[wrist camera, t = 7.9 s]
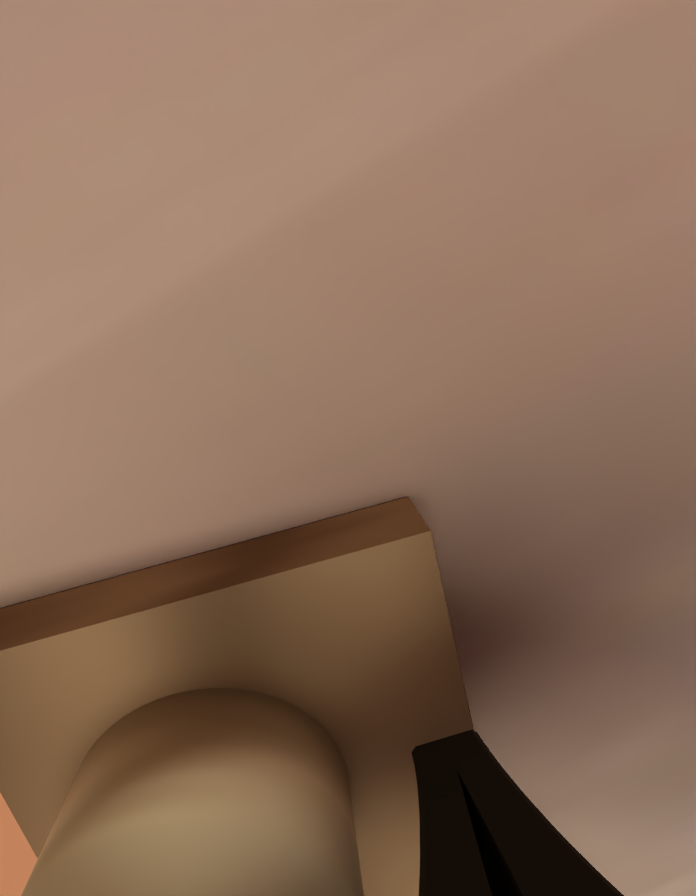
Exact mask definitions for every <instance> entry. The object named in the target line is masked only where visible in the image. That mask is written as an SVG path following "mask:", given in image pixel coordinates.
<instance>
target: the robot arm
mask: <svg viewBox="0 0 696 896" xmlns="http://www.w3.org/2000/svg"><path fill="white" fill-rule="evenodd" d="M411 753H412V757H413V761H414V766H415V772H416V779H417V788H418V801H419V819H420V875H419V896H624V895H623V894H621V893H620V892H619V891H618V890H617V889H616V888H615V887H614V886H613V885H612V884H611V883H610V882H609V881H607V880H606V879H605V878H604V877H603V876H602V875H601V874H600V873H599V872H598V871H597V870H596V869H595V868H594V867H593V866H592V865H591V864H590V863H589V862H588V861H587V860H586V859H585V858H584V857H583V856H582V855H581V854H580V853H579V852H578V851H577V850H576V849H575V848H574V847H573V846H572V845H571V844H570V843H569V842H568V841H567V840H566V839H565V838H564V837H563V836H562V835H561V834H560V833H559V832H558V831H557V830H556V828H555V827H554V826H553V825H552V824H551V823H550V822H549V821H548V820H547V819H546V818H545V816H544V815H543V814H542V813H541V812H540V811H539V810H538V809H537V808H536V807H535V805H534V804H533V803H532V802H531V801H530V800H529V799H528V798H527V796H526V795H525V794H524V793H523V792H522V791H521V790H520V788H519V787H518V786H517V785H516V784H515V782H514V781H513V780H512V779H511V777H510V776H509V775H508V774H507V773H506V771H505V770H504V769H503V768H502V766H501V765H500V764H499V763H498V761H497V760H496V759H495V757H494V756H493V755H492V753H491V752H490V751H489V749H488V748H487V746H486V745H485V743H484V742H483V741H482V739H481V738H480V736H479V734H478V733H477V732H475V731H473V730H468V731H465V732H462V733H458V734H455V735H452V736H448V737H445V738H442V739H438V740H435V741H432V742H429V743H425V744H422V745H419V746H415V748H414V749H413V751H412V752H411Z"/></svg>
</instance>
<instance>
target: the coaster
mask: <svg viewBox="0 0 696 896" xmlns="http://www.w3.org/2000/svg"><path fill="white" fill-rule="evenodd" d="M21 896H364V891H363V884H362V876H361V868H360V861H359V853H358V846H357V838H356V831H355V823H354V816H353V808H352V801H351V793H350V786H349V779H348V773H347V768H346V765H345V762H344V759H343V756H342V754H341V752H340V750H339V748H338V746H337V745H336V743H335V741H334V740H333V739H332V737H331V736H330V735H329V733H328V732H327V731H326V730H325V729H324V728H323V727H322V726H321V725H320V724H319V723H318V722H317V721H316V720H315V719H314V718H312V717H311V716H309V715H308V714H307V713H305V712H304V711H302V710H301V709H299V708H297V707H295V706H294V705H292V704H290V703H288V702H286V701H283V700H281V699H278V698H276V697H273V696H270V695H267V694H263V693H259V692H255V691H250V690H242V689H234V688H208V689H197V690H190V691H185V692H181V693H176V694H172V695H169V696H166V697H163V698H160V699H157V700H154V701H152V702H150V703H148V704H145V705H143V706H141V707H139V708H137V709H136V710H134V711H132V712H130V713H129V714H127V715H125V716H124V717H122V718H121V719H120V720H119V721H117V722H116V723H115V724H113V725H112V726H111V727H110V728H108V729H107V730H106V731H105V732H104V734H103V735H102V736H101V737H100V738H99V739H98V740H97V741H96V742H95V743H94V745H93V746H92V747H91V749H90V750H89V752H88V753H87V754H86V756H85V758H84V760H83V762H82V764H81V766H80V768H79V770H78V772H77V774H76V776H75V778H74V781H73V783H72V785H71V787H70V789H69V792H68V794H67V796H66V798H65V800H64V803H63V805H62V807H61V809H60V811H59V814H58V816H57V818H56V820H55V822H54V825H53V827H52V829H51V831H50V833H49V836H48V838H47V840H46V842H45V844H44V847H43V849H42V851H41V853H40V855H39V857H38V860H37V862H36V864H35V866H34V868H33V871H32V873H31V875H30V877H29V879H28V882H27V884H26V886H25V888H24V890H23V893H22V895H21Z"/></svg>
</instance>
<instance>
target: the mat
mask: <svg viewBox="0 0 696 896" xmlns="http://www.w3.org/2000/svg"><path fill="white" fill-rule="evenodd" d="M37 860H38V859H37V857H36V855H35V853H34V852H33V850H32V848H31V846H30V844H29V843H28V841H27V839H26V837H25V836H24V834H23V832H22V830H21V828H20V827H19V825H18V823H17V821H16V820H15V818H14V816H13V814H12V812H11V811H10V809H9V807H8V805H7V804H6V802H5V800H4V798H3V796H2V795H1V793H0V896H21V895H22V893H23V890H24V888H25V886H26V884H27V882H28V879H29V877H30V875H31V873H32V871H33V868H34V866H35V864H36V862H37Z"/></svg>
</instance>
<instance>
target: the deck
mask: <svg viewBox="0 0 696 896" xmlns="http://www.w3.org/2000/svg"><path fill="white" fill-rule="evenodd" d="M208 688H234V689H242V690H250V691H255V692H259V693H263V694H267V695H270V696H273V697H276V698H278V699H281V700H283V701H286V702H288V703H290V704H292V705H294V706H295V707H297V708H299V709H301V710H302V711H304V712H305V713H307V714H308V715H309V716H311V717H312V718H314V719H315V720H316V721H317V722H318V723H319V724H320V725H321V726H322V727H323V728H324V729H325V730H326V731H327V732H328V733H329V735H330V736H331V737H332V739H333V740H334V741H335V743H336V745H337V746H338V748H339V750H340V752H341V754H342V756H343V759H344V762H345V765H346V768H347V773H348V779H349V786H350V793H351V801H352V808H353V816H354V823H355V831H356V838H357V846H358V853H359V861H360V868H361V876H362V884H363V891H364V896H419V875H420V819H419V801H418V788H417V779H416V772H415V766H414V761H413V757H412V753H411V752H412V751H413V749H414V748H415V746H419V745H422V744H425V743H429V742H432V741H435V740H438V739H442V738H445V737H448V736H452V735H455V734H458V733H462V732H465V731H468V730H473V731H474V729H473V725H472V720H471V715H470V711H469V706H468V701H467V697H466V692H465V688H464V683H463V678H462V674H461V669H460V664H459V660H458V655H457V651H456V646H455V641H454V637H453V632H452V627H451V623H450V618H449V614H448V609H447V604H446V600H445V595H444V590H443V586H442V581H441V577H440V572H439V567H438V563H437V558H436V553H435V549H434V544H433V540H432V535H431V531H430V529H429V528H428V526H427V525H426V523H425V522H424V520H423V519H422V517H421V516H420V514H419V513H418V511H417V510H416V508H415V507H414V505H413V504H412V502H411V501H410V499H409V498H408V497H405V498H401V499H398V500H394V501H390V502H387V503H383V504H380V505H376V506H372V507H369V508H365V509H361V510H358V511H354V512H350V513H347V514H343V515H340V516H336V517H332V518H329V519H325V520H321V521H318V522H314V523H310V524H307V525H303V526H299V527H296V528H292V529H289V530H285V531H281V532H278V533H274V534H270V535H267V536H263V537H259V538H256V539H252V540H249V541H245V542H241V543H238V544H234V545H230V546H227V547H223V548H219V549H216V550H212V551H208V552H205V553H201V554H198V555H194V556H190V557H187V558H183V559H179V560H176V561H172V562H168V563H165V564H161V565H158V566H154V567H150V568H147V569H143V570H139V571H136V572H132V573H128V574H125V575H121V576H117V577H114V578H110V579H107V580H103V581H99V582H96V583H92V584H88V585H85V586H81V587H77V588H74V589H70V590H67V591H63V592H59V593H56V594H52V595H48V596H45V597H41V598H37V599H34V600H30V601H26V602H23V603H19V604H16V605H12V606H8V607H5V608H1V609H0V793H1V795H2V796H3V798H4V800H5V802H6V804H7V805H8V807H9V809H10V811H11V812H12V814H13V816H14V818H15V820H16V821H17V823H18V825H19V827H20V828H21V830H22V832H23V834H24V836H25V837H26V839H27V841H28V843H29V844H30V846H31V848H32V850H33V852H34V853H35V855H36V857H37V859H38V857H39V855H40V853H41V851H42V849H43V847H44V844H45V842H46V840H47V838H48V836H49V833H50V831H51V829H52V827H53V825H54V822H55V820H56V818H57V816H58V814H59V811H60V809H61V807H62V805H63V803H64V800H65V798H66V796H67V794H68V792H69V789H70V787H71V785H72V783H73V781H74V778H75V776H76V774H77V772H78V770H79V768H80V766H81V764H82V762H83V760H84V758H85V756H86V754H87V753H88V752H89V750H90V749H91V747H92V746H93V745H94V743H95V742H96V741H97V740H98V739H99V738H100V737H101V736H102V735H103V734H104V732H105V731H106V730H107V729H108V728H110V727H111V726H112V725H113V724H115V723H116V722H117V721H119V720H120V719H121V718H122V717H124V716H125V715H127V714H129V713H130V712H132V711H134V710H136V709H137V708H139V707H141V706H143V705H145V704H148V703H150V702H152V701H154V700H157V699H160V698H163V697H166V696H169V695H172V694H176V693H181V692H185V691H190V690H197V689H208Z"/></svg>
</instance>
